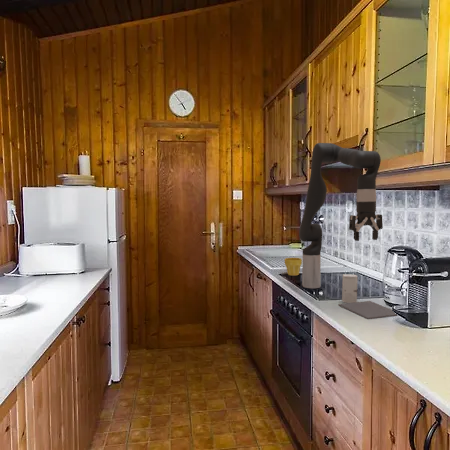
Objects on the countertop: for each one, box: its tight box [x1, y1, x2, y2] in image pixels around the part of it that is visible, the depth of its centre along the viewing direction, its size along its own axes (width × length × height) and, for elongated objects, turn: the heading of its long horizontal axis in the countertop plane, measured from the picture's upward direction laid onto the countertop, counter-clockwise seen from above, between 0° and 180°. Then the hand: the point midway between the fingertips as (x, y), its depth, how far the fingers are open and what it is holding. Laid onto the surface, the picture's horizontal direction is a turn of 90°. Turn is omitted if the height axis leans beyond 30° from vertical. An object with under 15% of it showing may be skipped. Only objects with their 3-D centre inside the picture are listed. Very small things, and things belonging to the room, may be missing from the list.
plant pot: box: [284, 257, 303, 277], centre depth 233 cm, size 10×10×10 cm
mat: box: [338, 300, 397, 320], centre depth 158 cm, size 20×16×1 cm
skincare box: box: [341, 273, 358, 304], centre depth 171 cm, size 6×4×12 cm
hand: (365, 240), depth 156 cm, fingers open, 8 cm apart
